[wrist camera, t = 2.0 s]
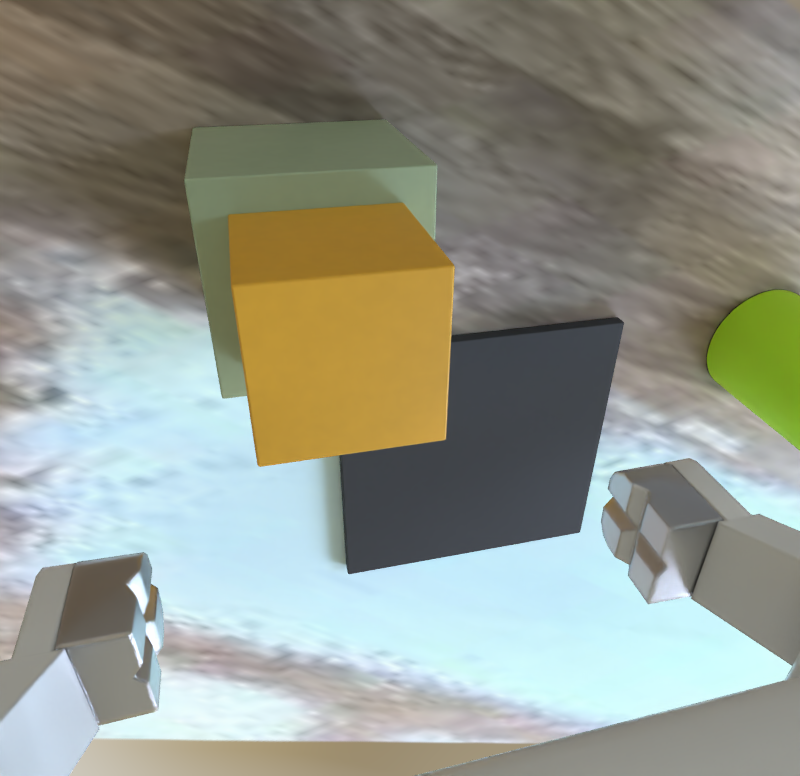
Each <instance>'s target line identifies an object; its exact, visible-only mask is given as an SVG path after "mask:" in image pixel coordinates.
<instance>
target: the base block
mask: <svg viewBox="0 0 800 776" xmlns="http://www.w3.org/2000/svg"><path fill="white" fill-rule="evenodd" d="M184 184H185V189H186V195H187V201H188V207H189V212H190V218H191V224H192V229H193V235H194V241H195V246H196V252H197V258H198V264H199V269H200V275H201V281H202V286H203V292H204V298H205V304H206V309H207V315H208V321H209V326H210V332H211V338H212V343H213V349H214V355H215V361H216V366H217V372H218V378H219V383H220V389H221V395H222V398H232V397H241V396H247V391H246V384H245V378H244V371H243V364H242V358H241V351H240V344H239V338H238V331H237V324H236V318H235V311H234V304H233V298H232V291H231V277H230V253H229V230H228V215H230V214H243V213H257V212H272V211H286V210H301V209H315V208H330V207H344V206H359V205H374V204H388V203H404V204H405V205H406V206H407V208H408V209H409V210H410V211H411V213H412V214H413V215H414V216H415V218H416V219H417V220H418V221H419V223H420V224H421V225H422V226H423V227H424V229H425V230H426V231H427V232H428V234H429V235H430V236H431V237H432V239H433V240H434V241H435V224H436V193H437V164H435V163H434V162H433V161H432V160H431V159H430V158H429V157H427V156H426V155H425V154H424V153H423V152H422V151H421V150H419V149H418V148H417V147H416V146H415V145H414V144H413V143H411V142H410V141H409V140H408V139H407V138H406V137H405V136H403V135H402V134H401V133H400V132H399V131H398V130H397V129H395V128H394V127H393V126H392V125H391V124H390V123H389V122H387V121H386V120H362V121H339V122H315V123H292V124H268V125H245V126H222V127H198V128H193V129H192V135H191V141H190V147H189V153H188V159H187V166H186V172H185V178H184Z"/></svg>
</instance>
